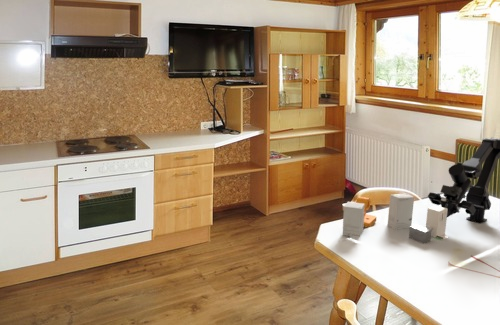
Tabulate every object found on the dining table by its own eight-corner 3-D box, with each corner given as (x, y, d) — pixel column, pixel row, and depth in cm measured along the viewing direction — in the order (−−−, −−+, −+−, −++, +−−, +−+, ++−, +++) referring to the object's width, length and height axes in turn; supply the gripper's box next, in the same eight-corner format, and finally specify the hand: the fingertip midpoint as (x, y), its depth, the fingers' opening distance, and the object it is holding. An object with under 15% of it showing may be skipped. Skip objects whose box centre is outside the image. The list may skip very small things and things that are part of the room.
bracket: (368, 229, 189) (370, 202, 186) (352, 226, 193) (354, 199, 190) (376, 222, 198) (378, 196, 195) (360, 218, 202) (362, 193, 199)
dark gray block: (414, 236, 179) (415, 224, 178) (430, 241, 174) (431, 229, 172) (408, 238, 177) (409, 226, 176) (424, 244, 171) (425, 232, 170)
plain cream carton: (433, 230, 185) (436, 205, 182) (450, 236, 179) (453, 210, 176) (419, 235, 179) (422, 209, 177) (436, 241, 173) (439, 214, 171)
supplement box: (363, 232, 186) (365, 203, 183) (359, 238, 179) (361, 208, 176) (346, 229, 189) (347, 201, 186) (341, 235, 182) (343, 206, 179)
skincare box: (395, 232, 186) (397, 198, 183) (386, 227, 192) (389, 194, 188) (411, 230, 189) (415, 196, 185) (403, 225, 194) (406, 192, 191)
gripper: (432, 173, 188) (414, 202, 185) (475, 183, 173) (456, 215, 170) (441, 188, 194) (423, 216, 191) (483, 199, 180) (465, 230, 176)
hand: (441, 219), depth 182 cm, fingers closed, pressing on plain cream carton
